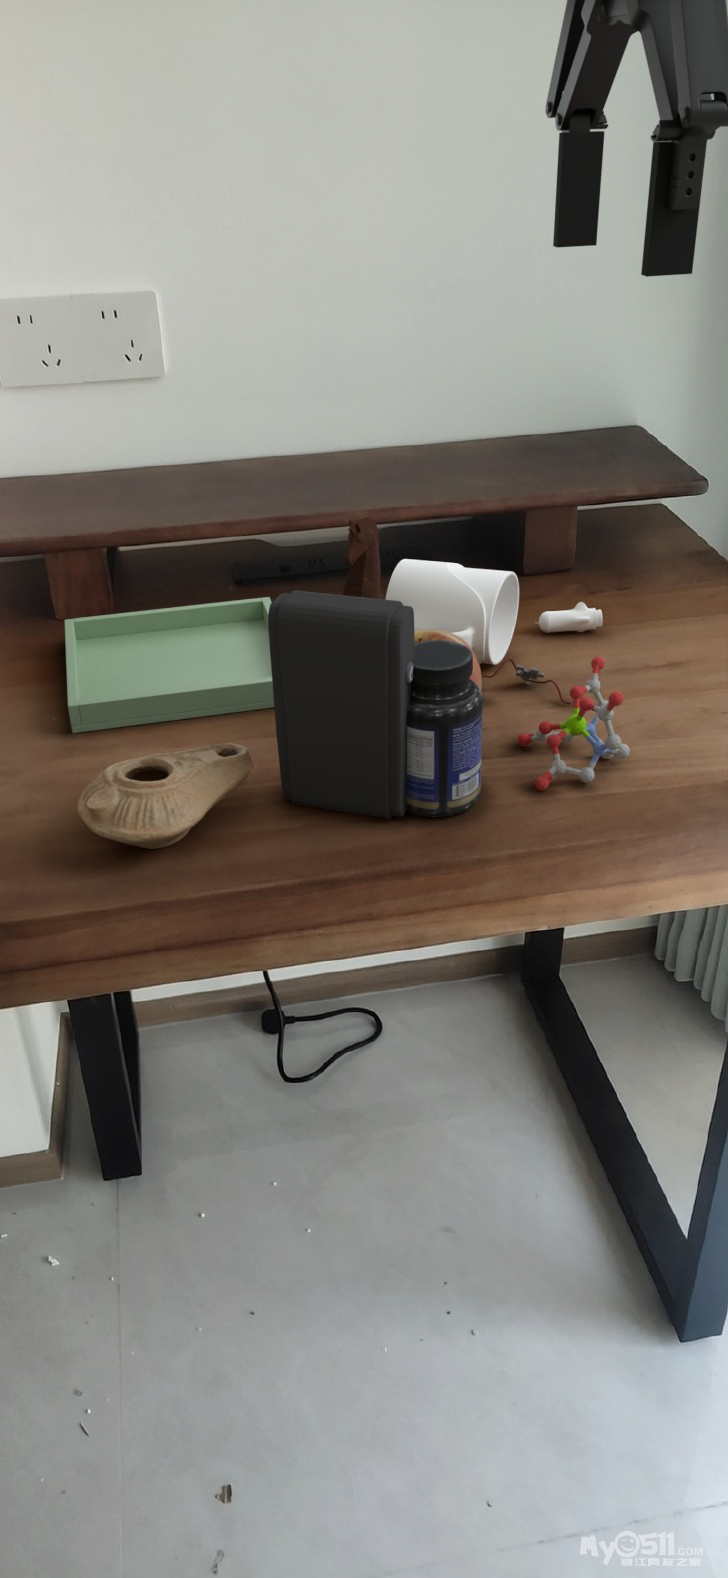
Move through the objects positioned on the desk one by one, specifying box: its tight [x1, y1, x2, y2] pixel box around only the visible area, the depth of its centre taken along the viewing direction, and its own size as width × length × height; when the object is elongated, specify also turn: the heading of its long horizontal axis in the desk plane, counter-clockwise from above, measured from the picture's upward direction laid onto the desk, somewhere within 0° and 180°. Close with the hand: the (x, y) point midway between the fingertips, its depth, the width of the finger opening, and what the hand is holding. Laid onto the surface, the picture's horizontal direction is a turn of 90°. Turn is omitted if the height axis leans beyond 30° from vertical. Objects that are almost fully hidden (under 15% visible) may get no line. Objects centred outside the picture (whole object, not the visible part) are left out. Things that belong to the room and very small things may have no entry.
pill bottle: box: [406, 640, 484, 818], centre depth 80 cm, size 6×6×11 cm
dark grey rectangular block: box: [268, 590, 415, 819], centre depth 79 cm, size 9×4×15 cm, turn 72°
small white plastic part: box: [536, 601, 603, 634], centre depth 106 cm, size 4×6×3 cm, turn 66°
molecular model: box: [517, 656, 631, 791], centre depth 84 cm, size 7×8×8 cm
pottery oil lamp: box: [77, 742, 254, 850], centre depth 79 cm, size 9×12×7 cm
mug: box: [385, 558, 520, 666], centre depth 99 cm, size 12×9×8 cm
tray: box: [64, 596, 274, 734], centre depth 101 cm, size 19×18×2 cm
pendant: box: [481, 658, 571, 705], centre depth 96 cm, size 8×4×3 cm
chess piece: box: [342, 515, 383, 599], centre depth 107 cm, size 5×5×10 cm
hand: (616, 259), depth 71 cm, fingers open, 13 cm apart
